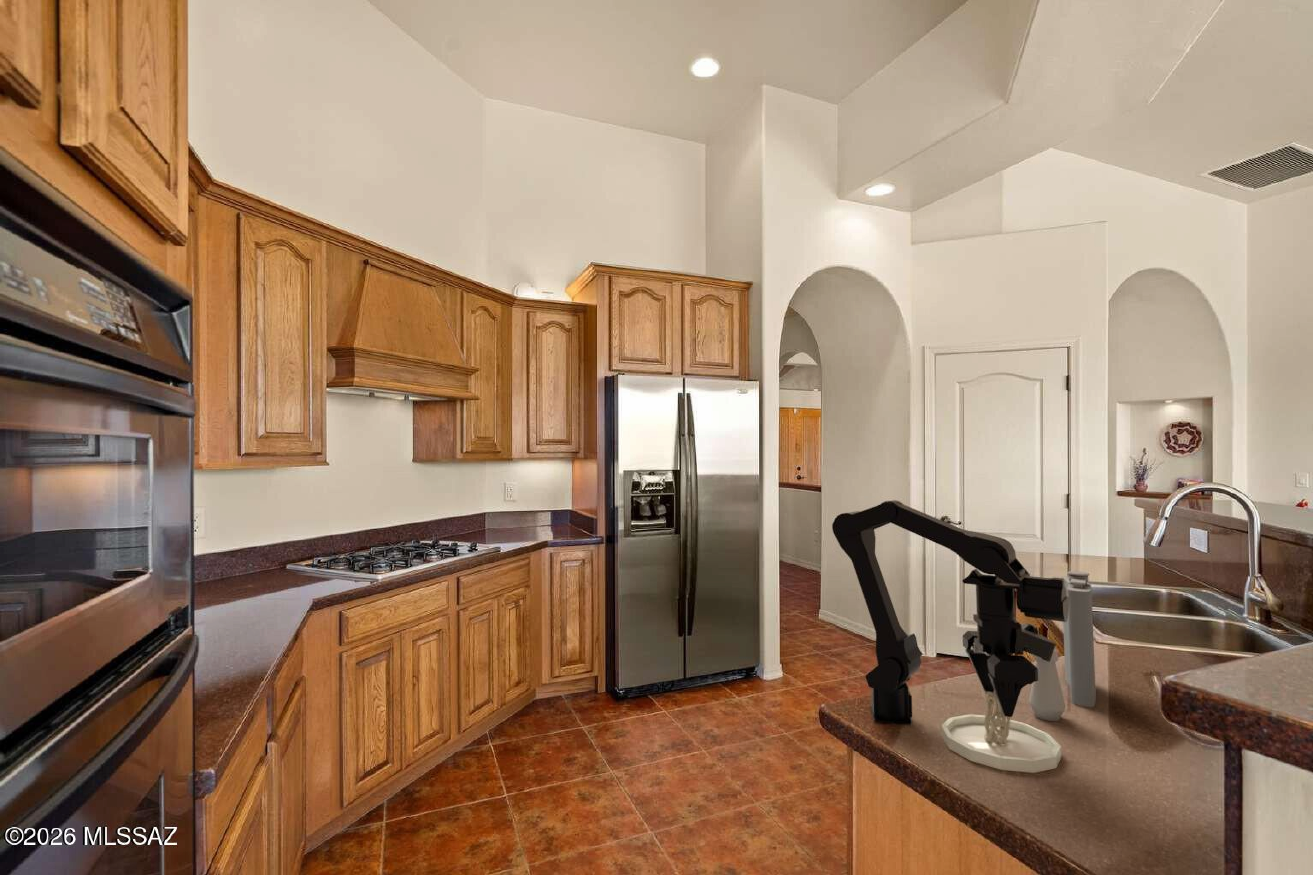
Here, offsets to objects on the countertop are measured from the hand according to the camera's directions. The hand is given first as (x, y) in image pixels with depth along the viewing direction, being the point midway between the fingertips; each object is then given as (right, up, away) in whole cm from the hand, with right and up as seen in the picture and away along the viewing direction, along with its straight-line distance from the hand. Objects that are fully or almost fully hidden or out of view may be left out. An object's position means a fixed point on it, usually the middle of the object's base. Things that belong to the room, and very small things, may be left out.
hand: (998, 705), depth 103 cm
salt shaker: (+16, -8, +12) cm, 21 cm away
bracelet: (0, -7, 0) cm, 6 cm away
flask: (+31, -8, +24) cm, 40 cm away
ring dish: (0, -7, 0) cm, 7 cm away
